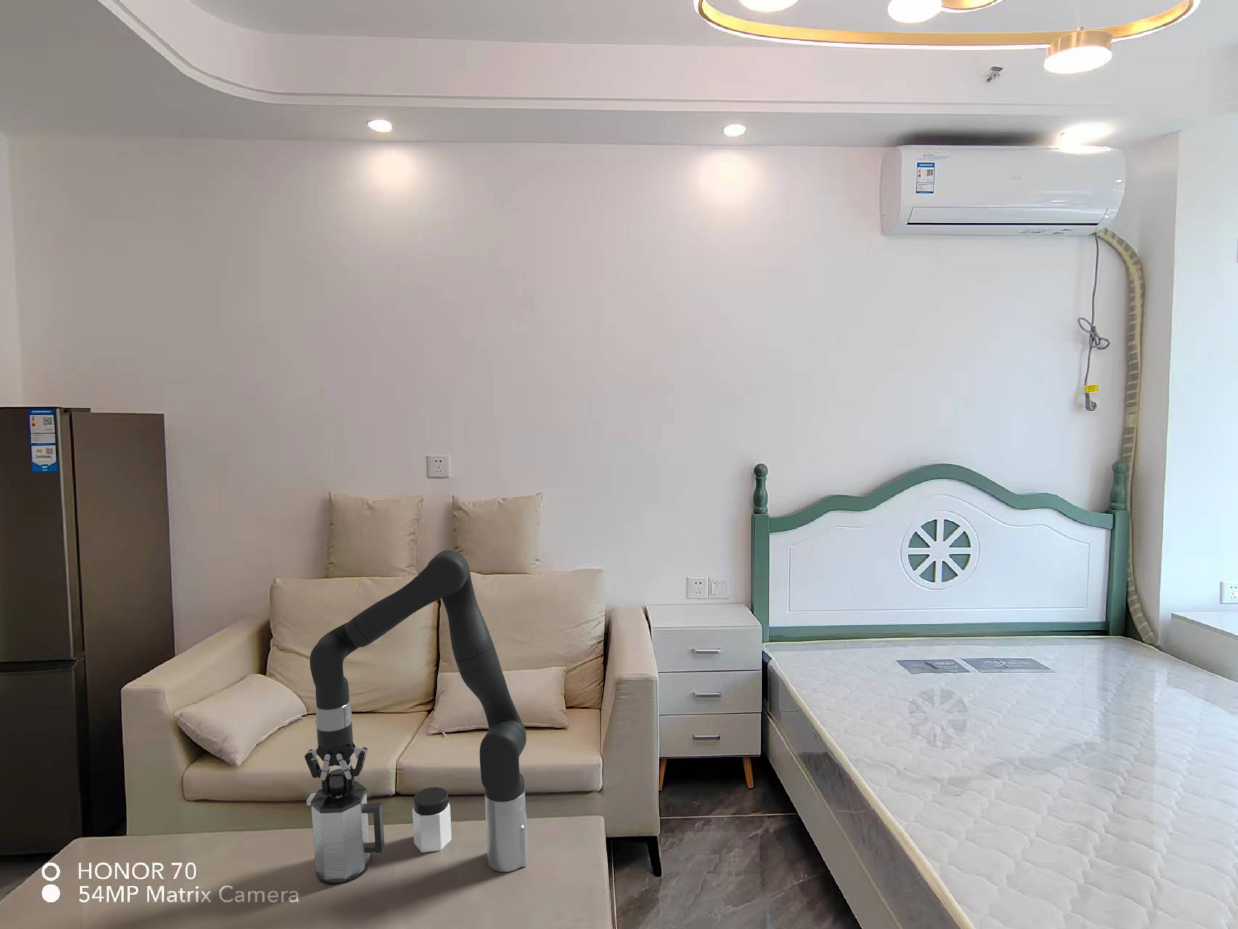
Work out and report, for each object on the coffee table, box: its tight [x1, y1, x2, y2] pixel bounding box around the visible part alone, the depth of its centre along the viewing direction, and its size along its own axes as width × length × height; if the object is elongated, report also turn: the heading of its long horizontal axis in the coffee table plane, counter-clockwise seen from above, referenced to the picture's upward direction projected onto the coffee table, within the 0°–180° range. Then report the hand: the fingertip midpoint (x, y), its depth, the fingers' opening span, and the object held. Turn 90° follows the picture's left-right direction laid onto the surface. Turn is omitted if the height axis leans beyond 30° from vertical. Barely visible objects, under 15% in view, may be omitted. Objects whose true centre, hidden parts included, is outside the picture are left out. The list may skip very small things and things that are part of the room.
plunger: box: [328, 768, 346, 798], centre depth 169 cm, size 4×4×20 cm
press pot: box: [306, 780, 385, 886], centre depth 170 cm, size 16×12×18 cm
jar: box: [411, 786, 452, 853], centre depth 179 cm, size 9×8×12 cm
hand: (338, 792), depth 168 cm, fingers open, 4 cm apart
